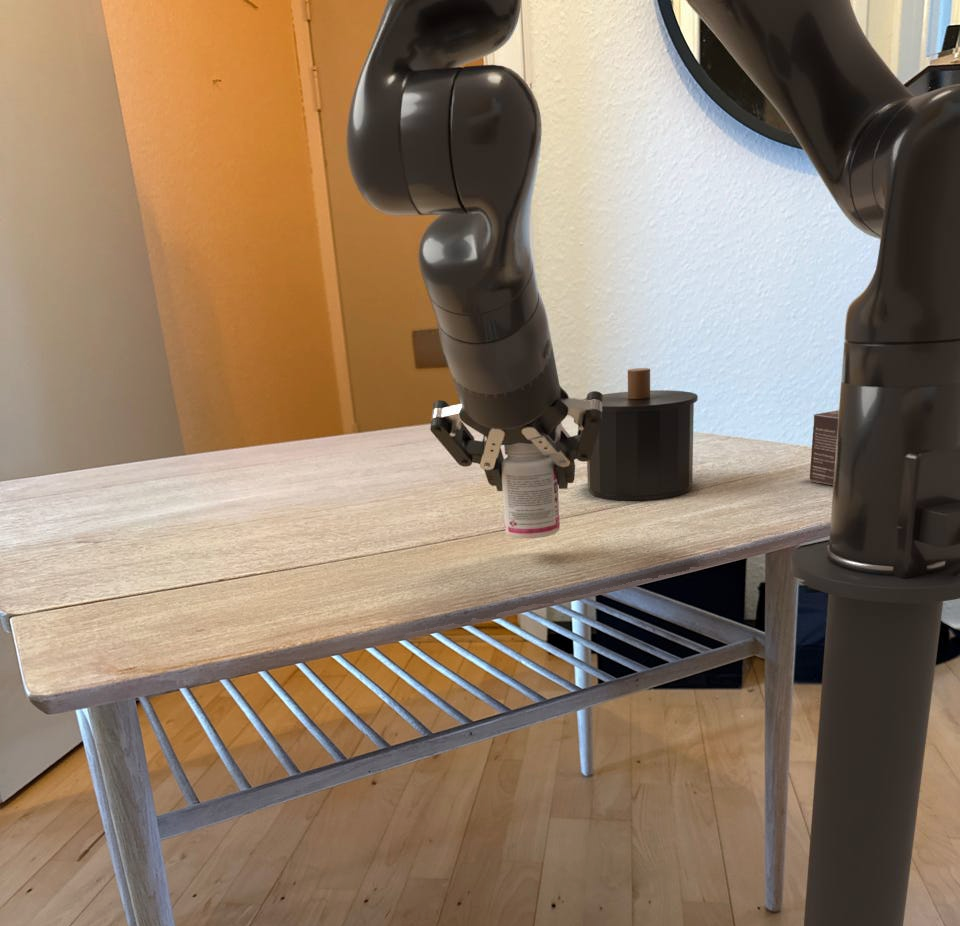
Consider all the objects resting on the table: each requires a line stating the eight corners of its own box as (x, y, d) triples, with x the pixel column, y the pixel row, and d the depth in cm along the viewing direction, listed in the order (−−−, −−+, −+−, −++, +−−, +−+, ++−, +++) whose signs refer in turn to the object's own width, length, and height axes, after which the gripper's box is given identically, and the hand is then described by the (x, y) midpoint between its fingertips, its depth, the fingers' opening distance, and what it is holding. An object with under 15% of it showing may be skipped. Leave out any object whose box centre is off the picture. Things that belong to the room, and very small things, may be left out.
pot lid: (721, 406, 97) (722, 366, 95) (620, 421, 92) (619, 379, 91) (655, 397, 107) (655, 360, 106) (561, 409, 103) (560, 371, 102)
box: (849, 473, 103) (854, 406, 100) (892, 481, 98) (899, 411, 95) (807, 481, 101) (812, 413, 98) (850, 490, 96) (855, 419, 93)
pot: (712, 489, 100) (714, 401, 97) (622, 506, 96) (621, 414, 93) (654, 473, 110) (654, 392, 107) (570, 487, 106) (567, 403, 103)
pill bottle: (569, 534, 78) (565, 434, 75) (518, 543, 77) (512, 442, 74) (546, 522, 83) (541, 428, 80) (497, 531, 81) (490, 435, 78)
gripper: (602, 299, 65) (616, 441, 80) (407, 314, 68) (457, 449, 83) (598, 385, 62) (614, 516, 77) (395, 397, 65) (449, 520, 80)
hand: (532, 480), depth 80 cm, fingers closed on pill bottle, 4 cm apart
